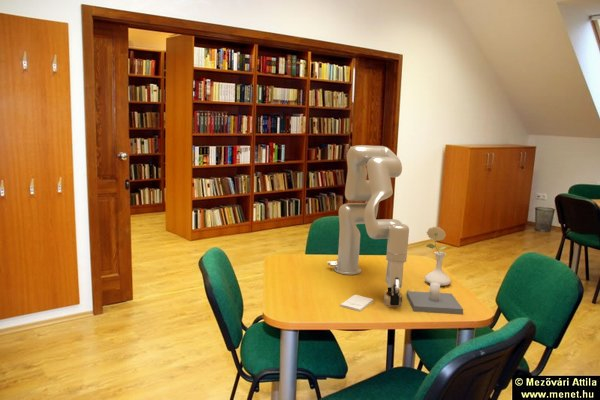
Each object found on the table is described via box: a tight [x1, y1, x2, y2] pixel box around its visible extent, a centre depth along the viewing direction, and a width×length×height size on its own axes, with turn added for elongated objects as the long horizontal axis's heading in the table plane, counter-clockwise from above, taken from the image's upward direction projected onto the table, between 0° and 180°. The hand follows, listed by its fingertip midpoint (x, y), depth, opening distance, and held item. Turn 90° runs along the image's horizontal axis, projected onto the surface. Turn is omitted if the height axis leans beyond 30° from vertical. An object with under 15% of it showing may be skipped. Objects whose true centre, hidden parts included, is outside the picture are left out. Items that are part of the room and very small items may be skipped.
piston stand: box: [405, 282, 464, 315], centre depth 188 cm, size 18×16×8 cm
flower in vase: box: [423, 226, 452, 287], centre depth 212 cm, size 13×11×25 cm
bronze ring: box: [383, 290, 404, 309], centre depth 187 cm, size 7×7×4 cm
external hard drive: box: [339, 294, 374, 312], centre depth 186 cm, size 2×8×12 cm
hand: (392, 300), depth 187 cm, fingers closed on bronze ring, 6 cm apart
